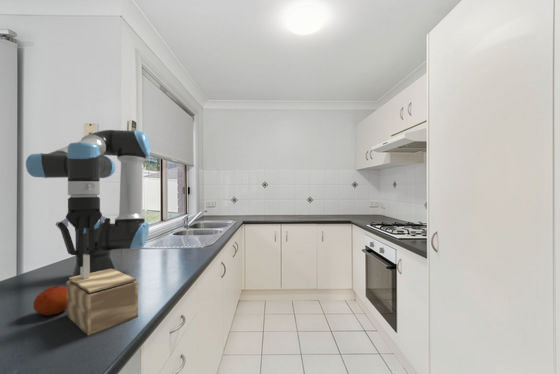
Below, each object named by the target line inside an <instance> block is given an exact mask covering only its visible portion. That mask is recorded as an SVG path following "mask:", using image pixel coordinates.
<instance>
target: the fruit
mask: <svg viewBox="0 0 560 374" xmlns="http://www.w3.org/2000/svg"><path fill="white" fill-rule="evenodd" d="M33 309H34V311H35V312H36V313H38V314H40V315H43V316H54V315H58V314H61V313H63V312H64V311H65V310H67V286H66V287H65V286H61V285H52V286H49V287H47V288H46V289H44V290H43V291H41V292H39V294H38V295H36V297H35V299H34V301H33Z"/></svg>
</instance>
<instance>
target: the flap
mask: <svg viewBox="0 0 560 374" xmlns="http://www.w3.org/2000/svg"><path fill="white" fill-rule="evenodd" d="M68 281H72V282H74V283H75V284H77V285H78V286H80V287H81V288H83V289H84V290H86V291H87V292H89V293H92V292H95V291H99V290H103V289H107V288H110V287H114V286H118V285H122V284H126V283H129V282H133V281H137V279H136V278H135V277H132V276H130V275H128V274H126V273H123V272H121V271H119V270H117V269H115V270H114V269H107V270H102V271H98V272H93V273H90V277H88V278H84V279H83V278H82V277H81V275H79V276H74V277H72V276H71V277H69V279H68Z"/></svg>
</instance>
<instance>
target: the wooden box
mask: <svg viewBox="0 0 560 374" xmlns="http://www.w3.org/2000/svg"><path fill="white" fill-rule="evenodd" d="M138 285H139V283H138V281H137V280H136V281H133V282H129V283H126V284H122V285H118V286H114V287H110V288H107V289H103V290H99V291H95V292H92V293H89V292H87V291H86V290H84V289H83V288H81V287H80V286H78V285H77V284H75V283H74V282H72V281H71V280H67V281H66V288H67V309H66V317H67V318H69V319H70V320H71V321H72V322H73V323H74V324H75V325H76V326H77V327H78V328H79V329H80V330H81V331H82V332H83V333H84V334H86V335H87V336H88V337H89V336H91V335H94V334H97V333H99V332H102V331H105V330H107V329H109V328H112V327H115V326H118V325H121V324H123V323H125V322H128V321H131V320H133V319H136V318H139V312H138V311H139V303H138V302H139V300H138V299H139V294H138V291H139V290H138V289H139V287H138Z"/></svg>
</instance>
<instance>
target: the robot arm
mask: <svg viewBox="0 0 560 374" xmlns="http://www.w3.org/2000/svg"><path fill="white" fill-rule="evenodd" d="M108 156H113V157H114V156H115V157H116V159H117V161H119V162H120V178H119V179H120V181H119V212H118V216H116V218H114V223H112V222H111V218H109V217H106V216H104V215H102V214H103V213H102V212H101V198H100V196H99V195H100V194H101V193H100V192H101V187H100V183H101V182H100V179H105V178H109V177H111V176H113V174H114V173H115V171H116V165H115V161H114V160H112V159H111V158H110V157H108ZM150 156H151V145H150V141H149V138H148V135H147V134H146V132H144V131H143V130H142V131H141V130H140V131H139V130H122V129H121V130H119V129H105V130H100V131H95V132H93V133H89V134H86V135H84V136H82V137H81V139H80V140H78V141H76V142H71V143H69V144H68V145H67V146H64V147H61V148H59V149H56V150H54V151H52V152H49V153H42V152H41V153H31V154H30V155H28V156H27V158H26V160H25V168H26V171H27V173H28V174H29V175H30V176H31V177H33V178H42V179H43V178H44V179H49V178H50V179H53V178H54V179H55V178H56V179H57V178H61V179H64V178H67V195H68V196H70V197H68V198H67V214H66V215H65V218H64V219H62V220H60V221H57V222H56V223H55V226H56V227H57V228H58V229H59V230H60V233H61V236H62V238H63V239H62V240H63V242H64V244H65V245H64V246H65V248H66V251H67V253H68V255H71V256H75V257H76V259H75V265H74V269H73V271H72V273H71V277H74V276H79V275H81V277H82V278H83V279H84V278H88V277H90V273H93V272H98V271H102V270H107V269H114V270H116V266H115V264H114V261H113V259H112V256H111V251H123V250H131V251H132V250H134V249H135V250H136V249H142V248H143V247H144V246H145V245H146V243H147V241H148V236H149V231H150V226H149V222H148V221H146V218H145V217H144V216H143V215H142V192H143V191H142V189H143V186H142V185H143V182H142V181H143V163H145V162H146V161H147V157H150ZM69 224H70V225H71V226H72V227H74V232H75V235H74V237H75V246H74V243H73V239H72V236H71V233H70V230H69V228H68V227H69Z"/></svg>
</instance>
